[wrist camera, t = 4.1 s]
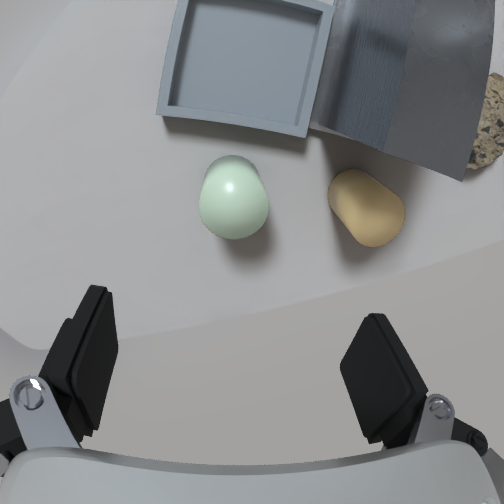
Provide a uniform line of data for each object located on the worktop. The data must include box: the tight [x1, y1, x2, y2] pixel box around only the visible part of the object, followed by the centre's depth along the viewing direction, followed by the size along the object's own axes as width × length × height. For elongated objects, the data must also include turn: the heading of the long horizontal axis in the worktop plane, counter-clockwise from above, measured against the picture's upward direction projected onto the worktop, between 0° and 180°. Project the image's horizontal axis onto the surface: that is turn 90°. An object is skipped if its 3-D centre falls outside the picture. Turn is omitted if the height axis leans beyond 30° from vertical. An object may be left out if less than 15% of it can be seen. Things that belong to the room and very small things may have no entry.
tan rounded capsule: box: [328, 169, 405, 247], centre depth 25 cm, size 5×5×6 cm
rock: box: [467, 73, 504, 170], centre depth 22 cm, size 11×11×4 cm
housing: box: [308, 0, 495, 182], centre depth 16 cm, size 8×14×12 cm, turn 169°
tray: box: [156, 0, 335, 138], centre depth 20 cm, size 12×12×2 cm
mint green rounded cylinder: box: [199, 155, 269, 239], centre depth 23 cm, size 5×5×6 cm
